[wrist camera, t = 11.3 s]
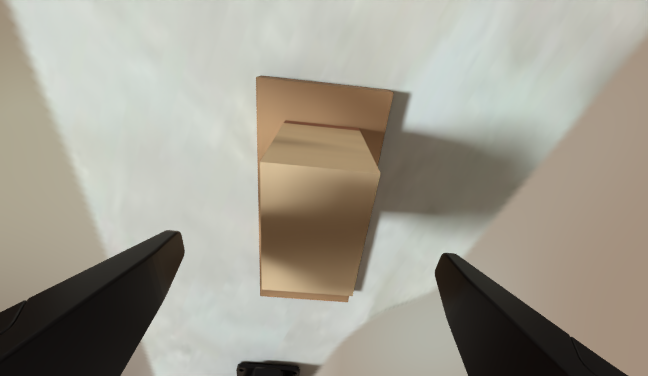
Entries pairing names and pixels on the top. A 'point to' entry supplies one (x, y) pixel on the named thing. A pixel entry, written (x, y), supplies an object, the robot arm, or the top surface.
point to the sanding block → (315, 208)
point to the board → (321, 108)
